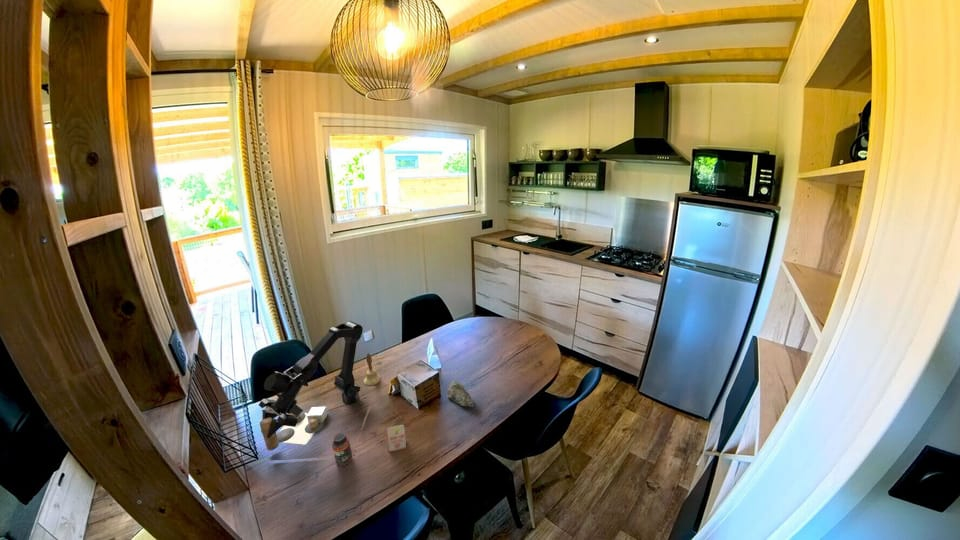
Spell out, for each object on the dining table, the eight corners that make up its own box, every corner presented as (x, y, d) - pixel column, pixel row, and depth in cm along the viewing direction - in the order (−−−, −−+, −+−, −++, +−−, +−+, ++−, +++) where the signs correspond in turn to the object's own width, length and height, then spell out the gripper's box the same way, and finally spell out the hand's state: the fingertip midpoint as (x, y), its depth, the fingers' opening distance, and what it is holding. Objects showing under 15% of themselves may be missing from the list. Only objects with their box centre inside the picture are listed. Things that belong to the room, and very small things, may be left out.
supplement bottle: (346, 450, 129) (342, 427, 125) (355, 457, 126) (351, 434, 122) (332, 461, 124) (327, 438, 121) (341, 469, 121) (337, 445, 117)
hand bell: (377, 385, 165) (374, 358, 160) (361, 385, 165) (357, 358, 160) (382, 375, 173) (379, 348, 168) (367, 375, 173) (363, 348, 168)
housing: (327, 413, 146) (325, 406, 145) (323, 422, 141) (321, 415, 140) (313, 414, 146) (311, 407, 144) (308, 423, 141) (306, 415, 140)
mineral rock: (474, 410, 149) (474, 391, 146) (451, 414, 146) (450, 396, 143) (468, 391, 161) (467, 374, 157) (446, 395, 158) (445, 378, 155)
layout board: (331, 416, 146) (330, 409, 144) (309, 447, 130) (307, 439, 129) (294, 413, 148) (292, 406, 146) (268, 443, 132) (266, 435, 131)
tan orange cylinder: (281, 442, 128) (274, 417, 124) (274, 450, 125) (267, 426, 121) (271, 441, 129) (264, 417, 125) (264, 450, 125) (257, 425, 121)
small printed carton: (388, 444, 131) (385, 424, 128) (405, 440, 133) (403, 421, 130) (388, 452, 128) (385, 432, 125) (406, 448, 130) (404, 428, 126)
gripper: (318, 406, 130) (296, 447, 125) (294, 389, 140) (272, 426, 135) (294, 402, 121) (269, 446, 116) (270, 383, 131) (246, 423, 126)
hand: (265, 435), depth 123 cm, fingers closed on tan orange cylinder, 4 cm apart
